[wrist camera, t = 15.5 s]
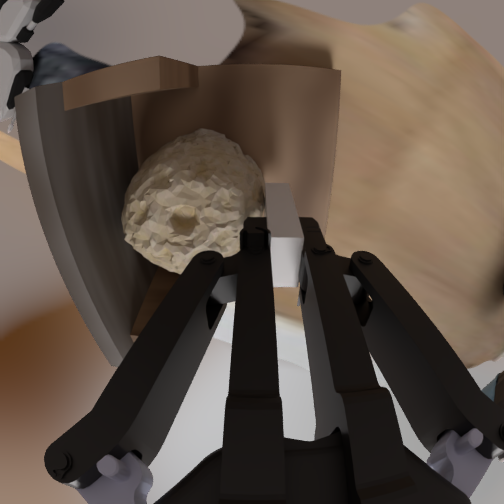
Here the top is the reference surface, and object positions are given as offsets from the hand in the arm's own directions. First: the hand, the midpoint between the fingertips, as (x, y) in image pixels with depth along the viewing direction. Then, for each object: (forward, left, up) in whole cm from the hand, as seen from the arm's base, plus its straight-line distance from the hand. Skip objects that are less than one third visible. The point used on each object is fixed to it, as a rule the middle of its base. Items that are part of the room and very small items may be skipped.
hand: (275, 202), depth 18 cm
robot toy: (+24, -16, -5) cm, 30 cm away
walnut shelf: (+4, 0, -5) cm, 6 cm away
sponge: (+5, 0, -3) cm, 6 cm away
